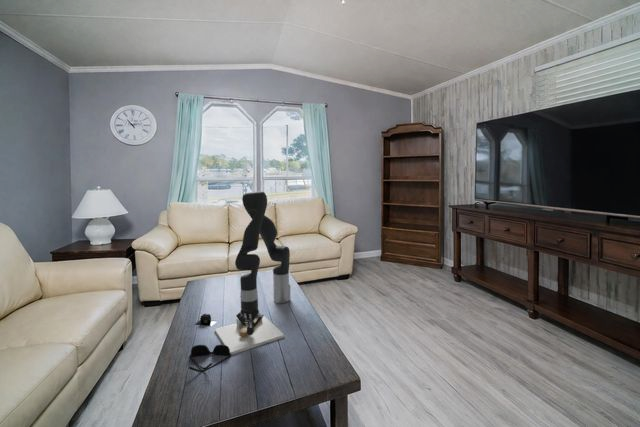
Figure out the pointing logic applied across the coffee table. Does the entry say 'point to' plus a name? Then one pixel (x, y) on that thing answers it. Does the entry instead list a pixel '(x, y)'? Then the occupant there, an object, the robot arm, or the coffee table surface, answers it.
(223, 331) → the board
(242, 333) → the oak link
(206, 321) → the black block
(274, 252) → the robot arm
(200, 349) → the sunglasses
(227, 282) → the coffee table surface
